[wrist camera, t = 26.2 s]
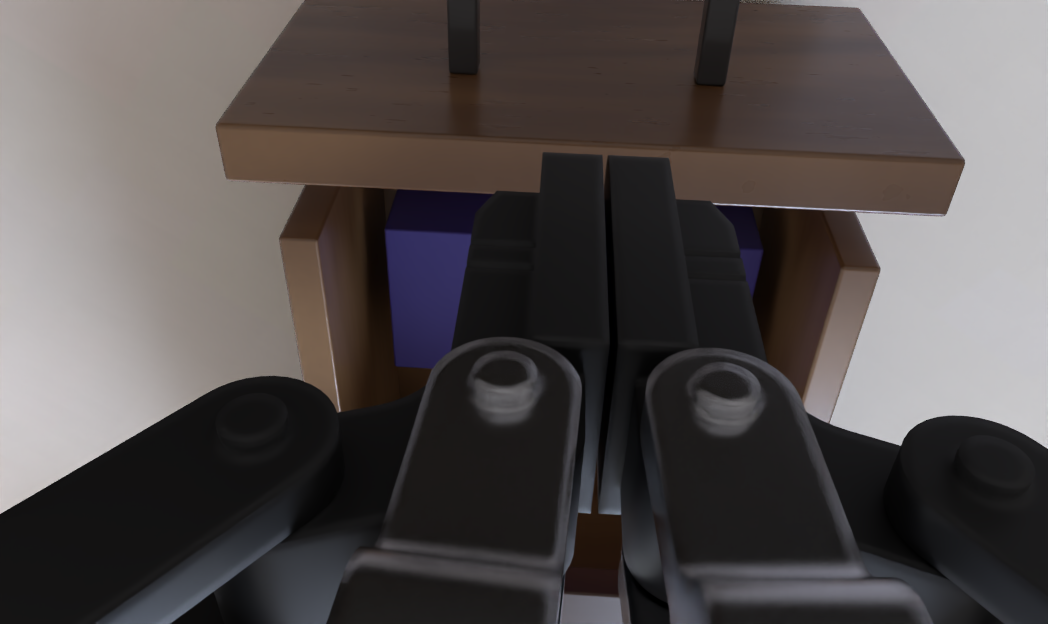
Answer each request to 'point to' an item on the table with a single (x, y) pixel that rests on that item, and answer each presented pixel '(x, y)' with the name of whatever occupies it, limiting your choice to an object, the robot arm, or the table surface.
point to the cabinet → (591, 596)
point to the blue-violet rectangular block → (441, 258)
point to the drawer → (585, 128)
